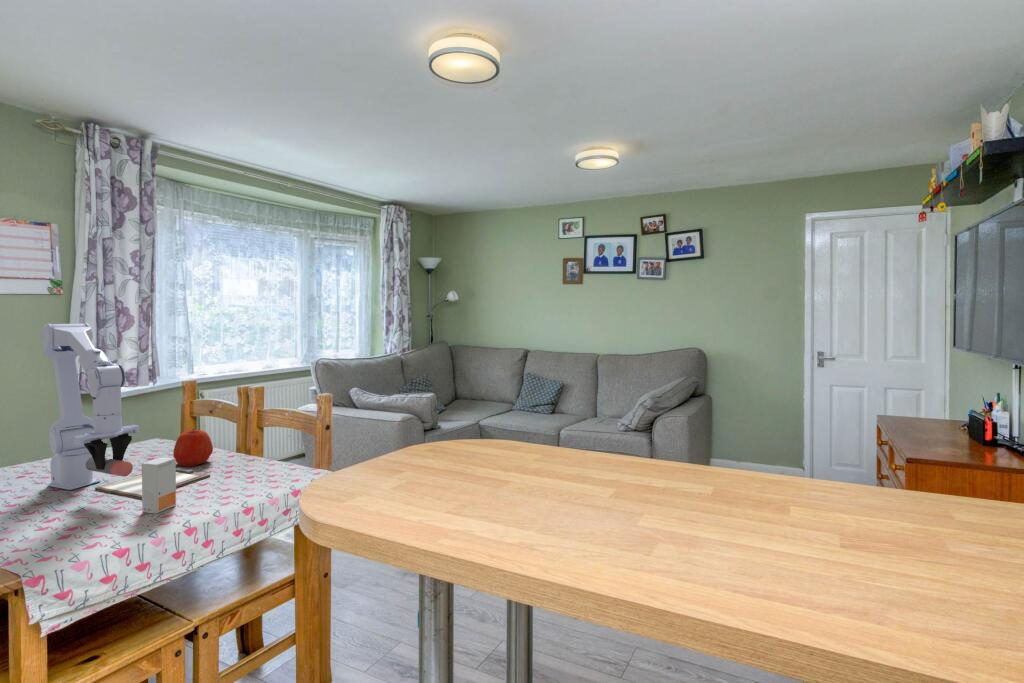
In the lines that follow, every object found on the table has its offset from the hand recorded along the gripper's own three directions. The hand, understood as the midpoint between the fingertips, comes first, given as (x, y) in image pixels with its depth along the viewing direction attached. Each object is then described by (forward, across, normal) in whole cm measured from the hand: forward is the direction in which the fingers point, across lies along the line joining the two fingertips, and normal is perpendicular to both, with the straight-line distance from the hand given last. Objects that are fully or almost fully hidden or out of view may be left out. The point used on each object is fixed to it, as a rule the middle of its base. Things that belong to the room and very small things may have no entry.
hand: (109, 466), depth 138 cm
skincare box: (+9, +1, -17) cm, 19 cm away
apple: (+9, +32, +10) cm, 34 cm away
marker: (+2, +1, 0) cm, 2 cm away
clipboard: (+9, +14, +2) cm, 16 cm away
